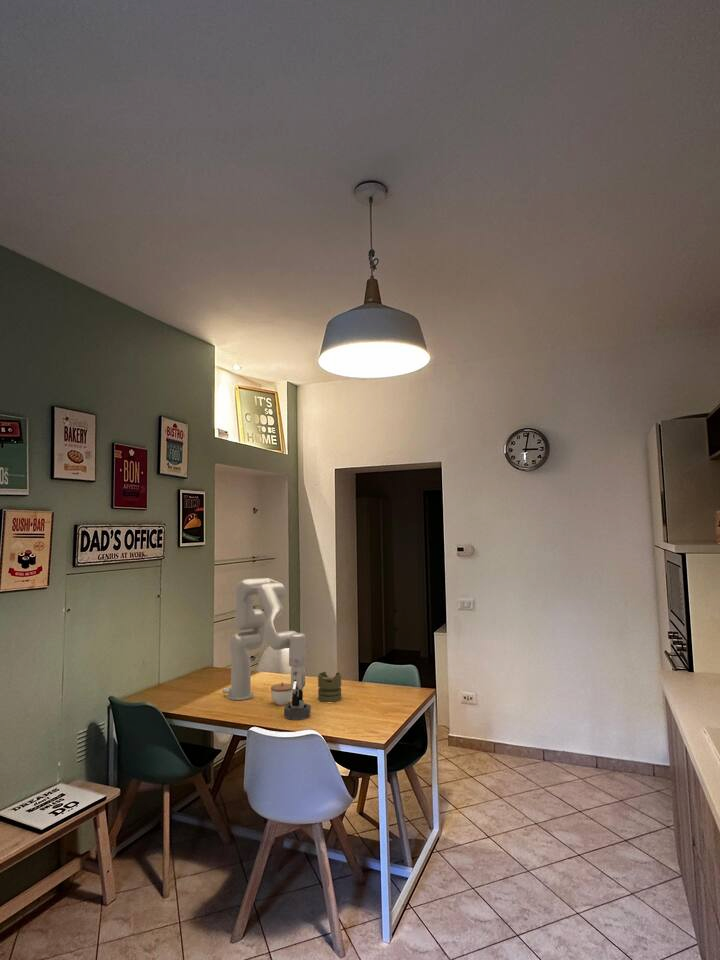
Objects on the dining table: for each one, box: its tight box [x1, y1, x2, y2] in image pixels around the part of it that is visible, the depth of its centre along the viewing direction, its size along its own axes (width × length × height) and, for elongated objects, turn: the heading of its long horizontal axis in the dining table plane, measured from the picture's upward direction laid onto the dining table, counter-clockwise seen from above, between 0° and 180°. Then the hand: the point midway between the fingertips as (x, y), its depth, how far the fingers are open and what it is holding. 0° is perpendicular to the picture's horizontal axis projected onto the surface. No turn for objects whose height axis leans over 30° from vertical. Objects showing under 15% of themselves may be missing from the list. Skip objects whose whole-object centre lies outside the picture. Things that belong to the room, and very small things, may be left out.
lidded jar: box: [270, 682, 293, 706], centre depth 263 cm, size 11×11×9 cm
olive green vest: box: [317, 671, 342, 703], centre depth 268 cm, size 11×12×11 cm
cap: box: [290, 700, 305, 709], centre depth 243 cm, size 6×6×5 cm
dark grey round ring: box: [283, 702, 312, 721], centre depth 243 cm, size 11×11×4 cm
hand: (297, 702), depth 244 cm, fingers open, 7 cm apart
